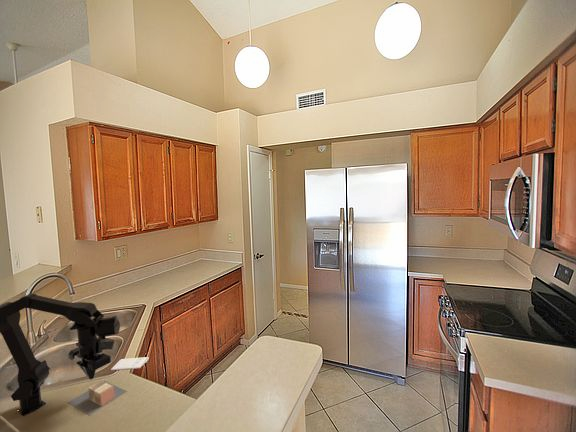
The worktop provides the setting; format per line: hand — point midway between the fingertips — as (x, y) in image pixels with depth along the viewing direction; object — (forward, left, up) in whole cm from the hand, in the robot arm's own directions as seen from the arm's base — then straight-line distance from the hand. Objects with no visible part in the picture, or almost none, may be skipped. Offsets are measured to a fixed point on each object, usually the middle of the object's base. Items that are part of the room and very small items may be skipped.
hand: (91, 378), depth 105 cm
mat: (+3, 0, -7) cm, 7 cm away
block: (+2, 0, -4) cm, 4 cm away
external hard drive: (-7, +19, -8) cm, 21 cm away
